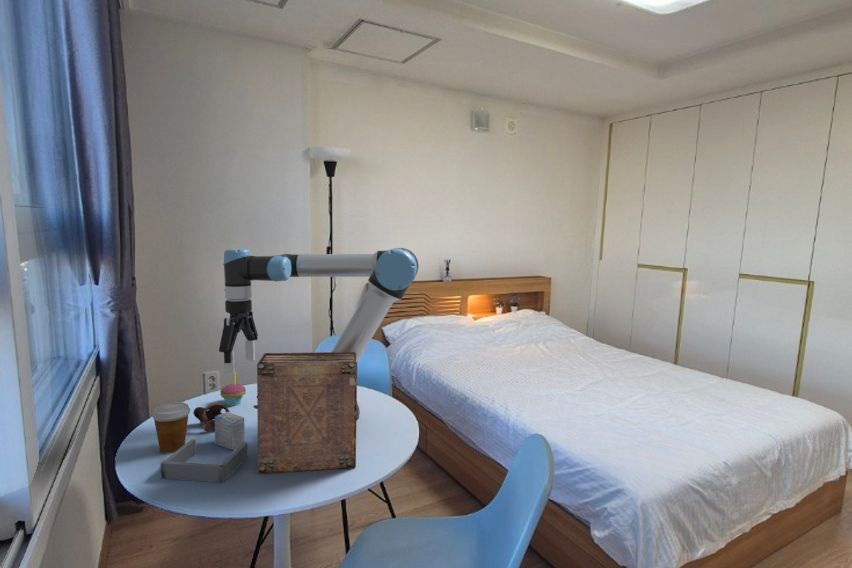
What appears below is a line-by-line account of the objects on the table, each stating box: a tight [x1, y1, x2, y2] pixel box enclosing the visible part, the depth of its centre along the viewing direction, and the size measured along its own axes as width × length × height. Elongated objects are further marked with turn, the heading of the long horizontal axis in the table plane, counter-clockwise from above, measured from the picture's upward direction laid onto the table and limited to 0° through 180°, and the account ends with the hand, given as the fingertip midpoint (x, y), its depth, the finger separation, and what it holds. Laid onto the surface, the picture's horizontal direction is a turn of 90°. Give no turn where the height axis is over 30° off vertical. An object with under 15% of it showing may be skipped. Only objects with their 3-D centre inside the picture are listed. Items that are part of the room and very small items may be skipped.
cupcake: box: [219, 371, 246, 407], centre depth 160 cm, size 9×8×12 cm
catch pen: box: [160, 438, 248, 483], centre depth 117 cm, size 16×13×4 cm
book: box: [256, 351, 358, 475], centre depth 120 cm, size 25×9×30 cm, turn 100°
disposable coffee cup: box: [151, 401, 191, 454], centre depth 126 cm, size 10×10×12 cm
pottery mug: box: [192, 402, 231, 433], centre depth 141 cm, size 12×10×8 cm
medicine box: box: [214, 411, 246, 451], centre depth 129 cm, size 8×4×9 cm, turn 61°
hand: (240, 366), depth 138 cm, fingers open, 13 cm apart
